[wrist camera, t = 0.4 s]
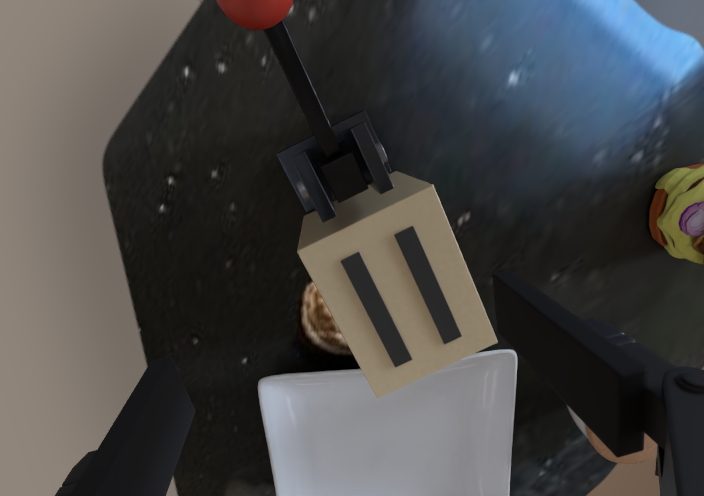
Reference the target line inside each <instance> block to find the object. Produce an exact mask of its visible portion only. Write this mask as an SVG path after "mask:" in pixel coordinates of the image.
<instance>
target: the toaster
mask: <svg viewBox="0 0 704 496" xmlns="http://www.w3.org/2000/svg"><path fill="white" fill-rule="evenodd" d="M388 174H389V176H390V179H391V181H392V183H393V185H394V188H393V189H391V190H389V191H387V192H385V193H383V194H379V193H378V192H377V191H376V190H375V189H373V188H372V187H371V186H370V185H369V184H368V183H367V185H368V188H369V189H367V190H365V191H363V192H361V193H359V194H357V195H355V196H353V197H351V198H349V199H347V200H345V201H343V202H341V203H338V201H337V199H335V200H333V202H334V206H335V210H336V214H337V216H336V217H334V218H332V219H330V220H328V221H326V222H324V223H323V222H322V220H321V218H320V216H319V214H318V213H317V211H316V209H314V210H312V211H310V212H308V213H306V214H304V215H302V217H303V223H302V228H301V234H300V239H299V244H298V249H297V253H298V255H299V256H300V258H301V260H302V262H303V264H304V266H305V267H306V269H307V271H308V273H309V275H310V276H311V278H312V280H313V282H314V284H315V286H316V287H317V289H318V291H319V293H320V295H321V297H322V298H323V300H324V302H325V304H326V306H327V308H328V309H329V311H330V313H331V315H332V317H333V318H334V320H335V322H336V324H337V326H338V328H339V329H340V331H341V333H342V335H343V337H344V339H345V340H346V342H347V344H348V346H349V348H350V350H351V351H352V353H353V355H354V357H355V359H356V360H357V362H358V364H359V366H360V368H361V370H362V371H363V373H364V375H365V377H366V379H367V381H368V382H369V384H370V386H371V388H372V390H373V392H374V393H375V395H376V397H377V398H380V397H382V396H384V395H386V394H388V393H390V392H392V391H395V390H397V389H399V388H401V387H403V386H405V385H407V384H410V383H412V382H414V381H416V380H418V379H420V378H422V377H425V376H427V375H429V374H431V373H433V372H435V371H437V370H440V369H442V368H444V367H446V366H448V365H450V364H453V363H455V362H457V361H459V360H461V359H463V358H465V357H468V356H470V355H472V354H474V353H476V352H478V351H480V350H483V349H485V348H487V347H489V346H491V345H493V344H495V343H497V342H498V341H497V338H496V336H495V334H494V331H493V329H492V326H491V324H490V321H489V319H488V317H487V314H486V312H485V309H484V307H483V304H482V302H481V300H480V297H479V295H478V292H477V290H476V287H475V285H474V283H473V280H472V278H471V275H470V273H469V270H468V268H467V266H466V263H465V261H464V258H463V256H462V253H461V251H460V249H459V246H458V244H457V241H456V239H455V236H454V234H453V232H452V229H451V227H450V224H449V222H448V219H447V217H446V215H445V212H444V210H443V207H442V205H441V202H440V200H439V198H438V195H437V193H436V190H435V188H434V186H433V185H432V184H429V183H426V182H424V181H421V180H419V179H416V178H413V177H411V176H408V175H405V174H403V173H400V172H398V171H397V169H395V170H393V171H391V172H389V173H388Z"/></svg>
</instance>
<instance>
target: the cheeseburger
mask: <svg viewBox="0 0 704 496" xmlns="http://www.w3.org/2000/svg"><path fill="white" fill-rule="evenodd" d="M655 188H656V189H658V190H657V191H656V192H655V195H654V198H653V201H652V204H651V207H650V218H649V227H650V231H651V235H652V238H653V239H655V240H656V241H657V242H658V243H659V244H660V245H662V246H663V247H664V248H665V249H666V250H667V251H668V252H669V254H671V255H672V256H673V257H675V258H686V259H688V260H690V261H692V262H696V263H700V264H704V163H703V164H696V165H692V166H687V167H682V168H675V169H674V170H672V171H670V172H669V173H667V174H665V175H664V176H662V177H661V178H660V179H659V180H658V181H657V183H656V186H655Z"/></svg>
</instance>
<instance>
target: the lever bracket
mask: <svg viewBox="0 0 704 496" xmlns="http://www.w3.org/2000/svg"><path fill="white" fill-rule="evenodd" d="M331 128H332V130H333V132H334V134H335V137H336V139H337V141H338V143H339V142H341V141H343V140H345V141H346V142H347V144H348V145H349V147H350V148H351V150H352V151H353V153H354V155H355V158H356V160H357V162H358V165H359V167H360V169H361V172H362V174H363V176H364V178H365V181H366V183H368V184H369V185H370V186H371V187H372V188H373V189H375V190H376V191H377V192H378V193H379V194H383V193H385V192H387V191H389V190H391V189H393V188H394V185H393V183H392V181H391V179H390V176H389V174H388V172H390V171H392V170H391V168H390V165H389V163H388V161H387V156H386V153H385V151H384V149H383V147H382V145H381V143H380V142H379V140H378V138H377V136H376V133H375V131H374V129H373V127H372V124H371V122H370V120H369V118H368V115H367V113H366V111H365V110H363V111H361V112H359V113H357V114H355V115H353V116H351V117H349V118H347V119H345V120H343V121H341V122H339V123H337V124H335V125H333V126H331ZM321 151H322V149H321V147H320V145H319V143H318V141H317V139H316V137H315V135H313V136H311V137H309V138H307V139H305V140H303V141H301V142H299V143H297V144H295V145H293V146H291V147H289V148H287V149H285V150H283V151H281V152H279V153H277V154H276V156H277V158H278V159H279V161H280V163H281V165H282V167H283V169H284V171H285V173H286V175H287V177H288V179H289V181H290V182H291V184H292V186H293V188H294V190H295V192H296V194H297V196H298V198H299V200H300V202H301V203H302V205H303V207H304V209H305V211H306V212H309V211H311V210H313V209H316V211H317V213H318V214H319V216H320V218H321V220H322V222H323V223H324V222H326V221H328V220H330V219H332V218H334V217H336V216H337V214H336V210H335V206H334V202H333V199H335V196H334V194H333V192H332V190H331V188H330V186H329V184H328V182H327V180H326V178H325V176H324V174H323V172H322V170H321V168H320V165H319V163H318V161H317V158H316V156H315V154H317V153H319V152H321Z"/></svg>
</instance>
